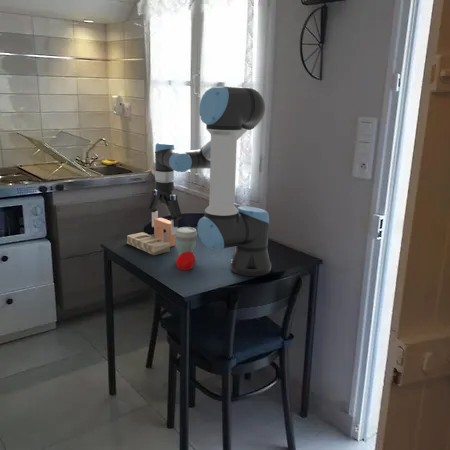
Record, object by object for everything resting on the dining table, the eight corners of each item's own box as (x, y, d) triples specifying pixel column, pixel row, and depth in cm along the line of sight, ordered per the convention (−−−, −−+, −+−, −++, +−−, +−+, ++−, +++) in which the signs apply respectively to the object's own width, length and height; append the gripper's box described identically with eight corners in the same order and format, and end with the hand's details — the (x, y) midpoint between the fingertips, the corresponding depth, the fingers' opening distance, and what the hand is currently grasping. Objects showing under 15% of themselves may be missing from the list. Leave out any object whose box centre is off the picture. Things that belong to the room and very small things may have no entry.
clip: (175, 245, 203) (175, 222, 200) (168, 247, 200) (168, 224, 198) (161, 239, 210) (160, 217, 207) (154, 241, 207) (154, 218, 204)
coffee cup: (193, 264, 182) (194, 233, 179) (172, 262, 183) (172, 231, 180) (199, 256, 190) (200, 227, 187) (178, 254, 192) (178, 225, 188)
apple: (180, 259, 171) (195, 247, 175) (169, 257, 176) (184, 246, 181) (187, 275, 174) (202, 263, 178) (176, 273, 179) (191, 261, 183)
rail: (170, 251, 195) (170, 243, 194) (153, 255, 190) (153, 246, 189) (143, 239, 208) (142, 232, 207) (127, 243, 203) (127, 235, 202)
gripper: (191, 184, 191) (190, 235, 197) (154, 174, 209) (154, 222, 215) (176, 187, 186) (175, 239, 192) (139, 176, 204) (140, 224, 210)
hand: (164, 230), depth 204 cm, fingers open, 13 cm apart
